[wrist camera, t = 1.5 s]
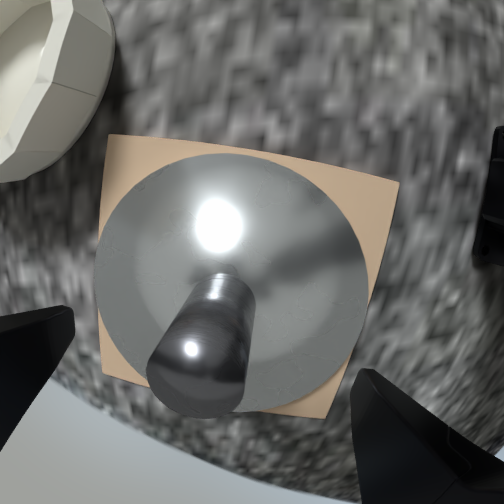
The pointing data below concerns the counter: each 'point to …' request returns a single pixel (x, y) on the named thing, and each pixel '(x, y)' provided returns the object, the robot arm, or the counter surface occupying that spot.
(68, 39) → the bowl
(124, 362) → the mat
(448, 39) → the counter surface
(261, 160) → the lid
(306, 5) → the counter surface
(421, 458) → the robot arm
